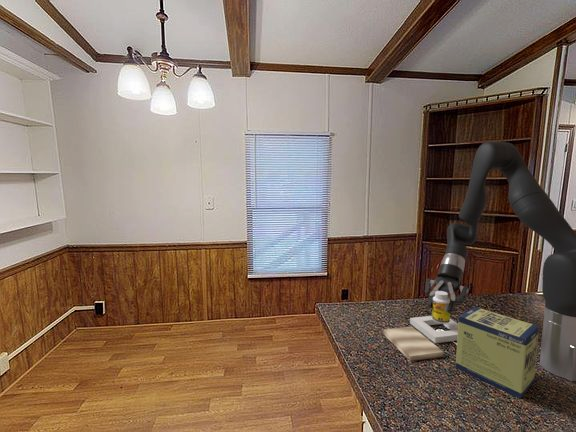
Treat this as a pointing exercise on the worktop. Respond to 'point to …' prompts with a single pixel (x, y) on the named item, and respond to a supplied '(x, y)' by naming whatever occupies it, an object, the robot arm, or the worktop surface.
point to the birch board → (412, 343)
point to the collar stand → (432, 334)
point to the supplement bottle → (441, 307)
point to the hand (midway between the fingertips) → (439, 309)
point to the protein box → (497, 350)
